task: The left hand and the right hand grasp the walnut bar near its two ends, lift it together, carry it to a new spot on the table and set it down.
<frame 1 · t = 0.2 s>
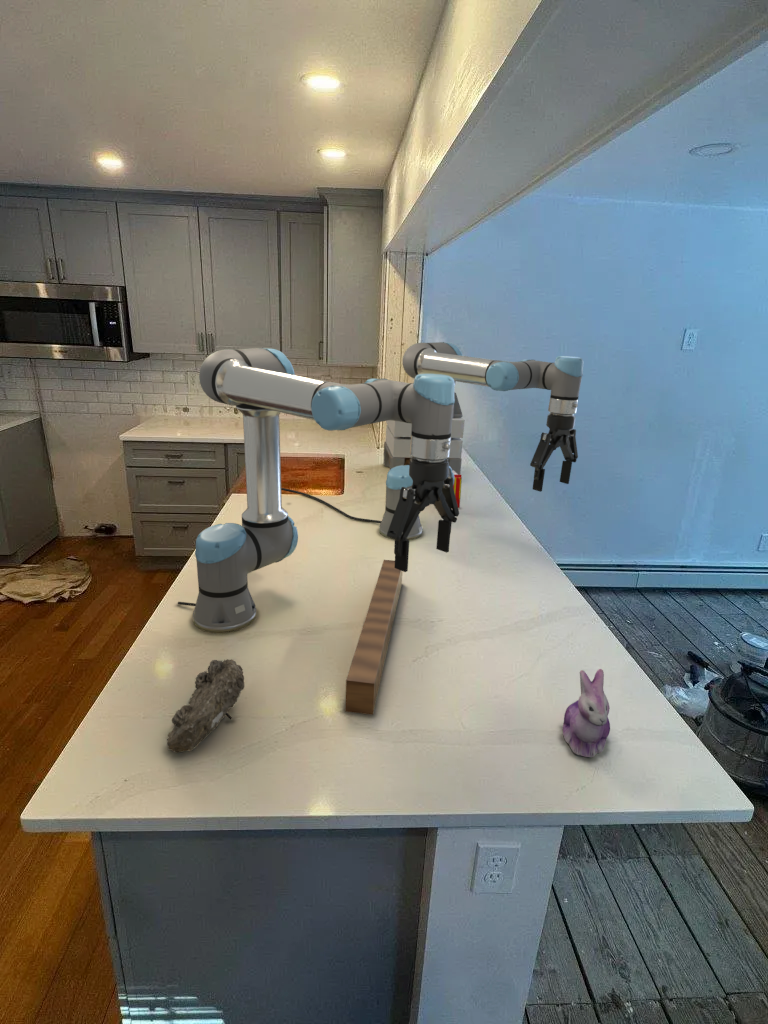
left hand: (422, 559, 115), 27 cm above the counter, tool pointing down, fingers open, 13 cm apart
right hand: (550, 486, 165), 28 cm above the counter, tool pointing down, fingers open, 13 cm apart
bar: (378, 636, 137), on the counter
fossil: (212, 717, 108), on the counter
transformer: (419, 473, 275), on the counter
figurine: (585, 741, 106), on the counter
toy: (443, 497, 241), on the counter
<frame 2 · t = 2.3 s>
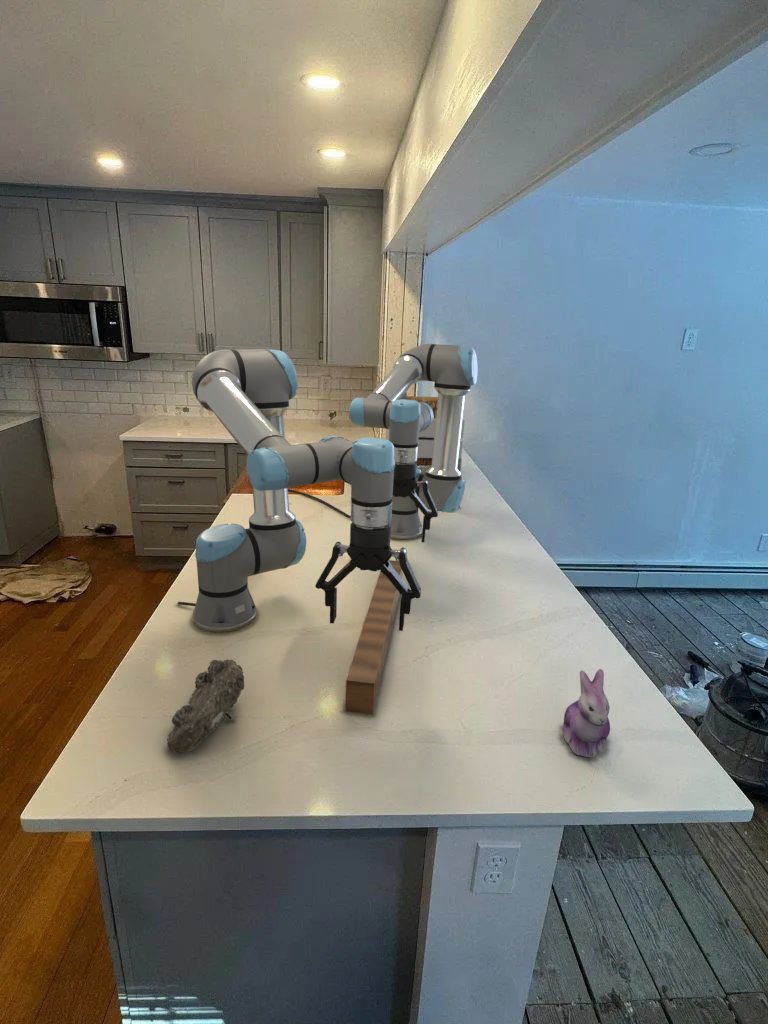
left hand: (367, 623, 112), 16 cm above the counter, tool pointing down, fingers open, 13 cm apart
right hand: (397, 538, 152), 17 cm above the counter, tool pointing down, fingers open, 13 cm apart
nothing on the counter moved.
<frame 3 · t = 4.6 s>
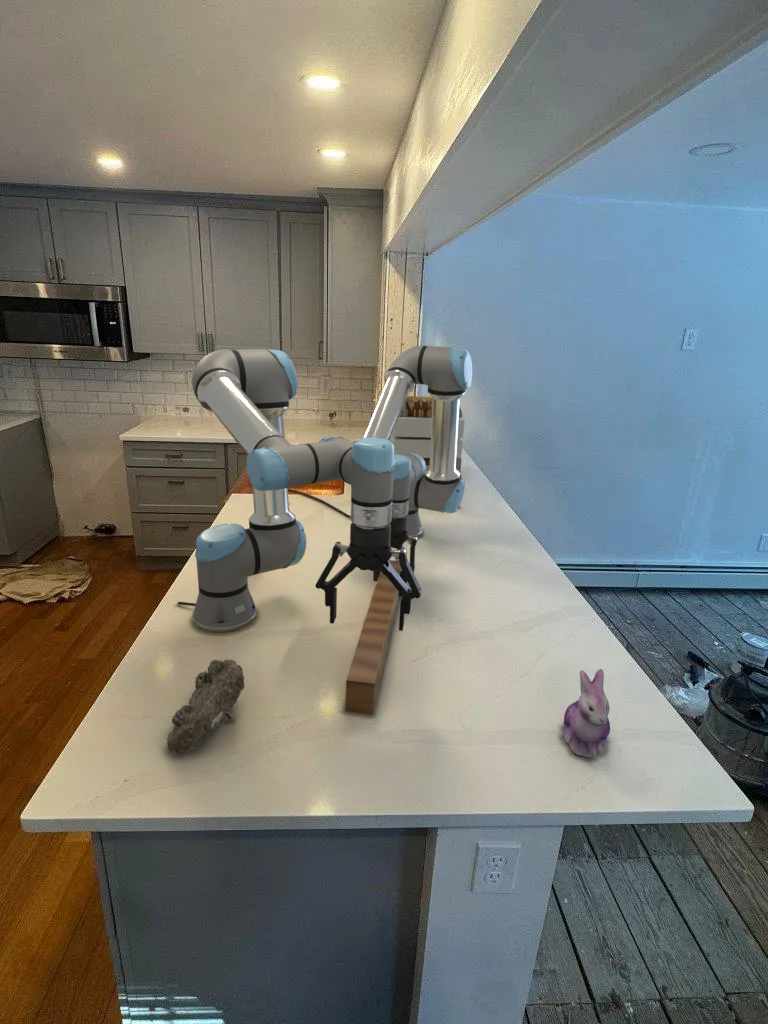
left hand: (367, 623, 112), 16 cm above the counter, tool pointing down, fingers open, 13 cm apart
right hand: (389, 592, 157), 1 cm above the counter, tool pointing down, fingers closed on bar, 5 cm apart
bar: (378, 636, 137), on the counter, touching right hand
everything else where it was.
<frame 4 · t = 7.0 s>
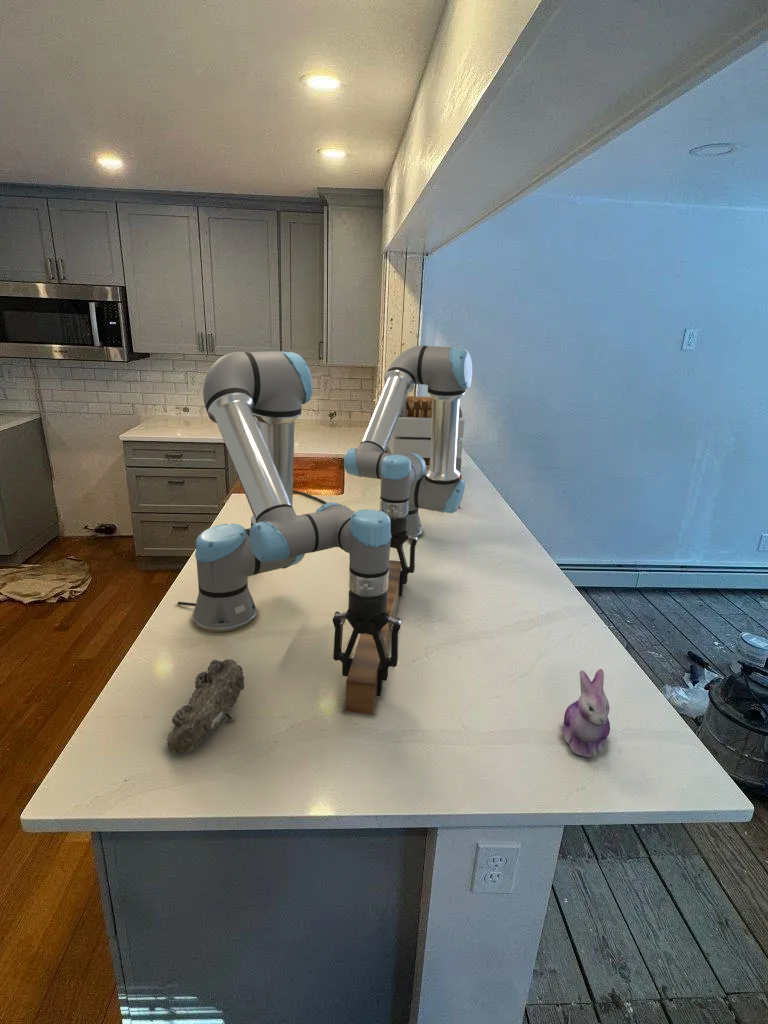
left hand: (364, 690, 117), 1 cm above the counter, tool pointing down, fingers closed on bar, 5 cm apart
right hand: (389, 592, 157), 1 cm above the counter, tool pointing down, fingers closed on bar, 5 cm apart
bar: (378, 636, 137), on the counter, touching right hand, left hand
everything else where it was.
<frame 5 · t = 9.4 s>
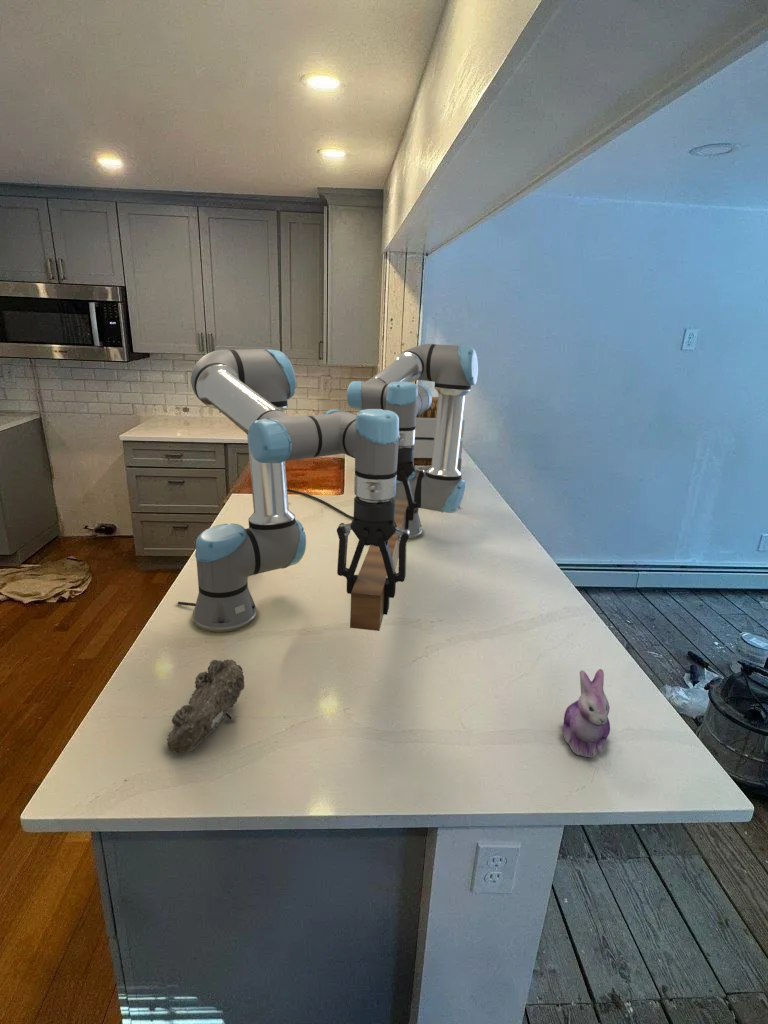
left hand: (370, 609, 110), 19 cm above the counter, tool pointing down, fingers closed on bar, 5 cm apart
right hand: (395, 529, 151), 19 cm above the counter, tool pointing down, fingers closed on bar, 5 cm apart
bar: (384, 565, 131), point 19 cm above the counter, touching right hand, left hand
everything else where it was.
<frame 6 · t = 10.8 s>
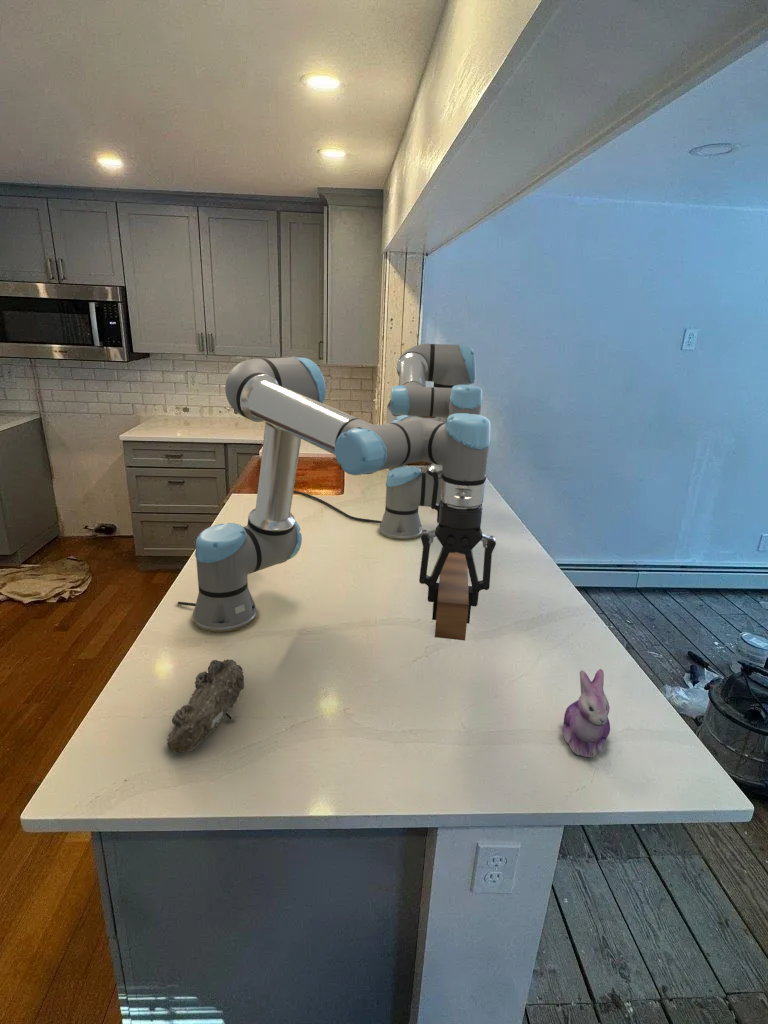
left hand: (450, 617, 108), 20 cm above the counter, tool pointing down, fingers closed on bar, 5 cm apart
right hand: (453, 535, 149), 20 cm above the counter, tool pointing down, fingers closed on bar, 6 cm apart
bar: (452, 572, 128), point 19 cm above the counter, touching right hand, left hand
everything else where it was.
when the left hand's fingers open (1 cm above the counter, at t = 14.5 s): bar stays where it is, on the counter.
when the right hand's fingers open (2 cm above the counter, at t = 14.5 s): bar stays where it is, on the counter.
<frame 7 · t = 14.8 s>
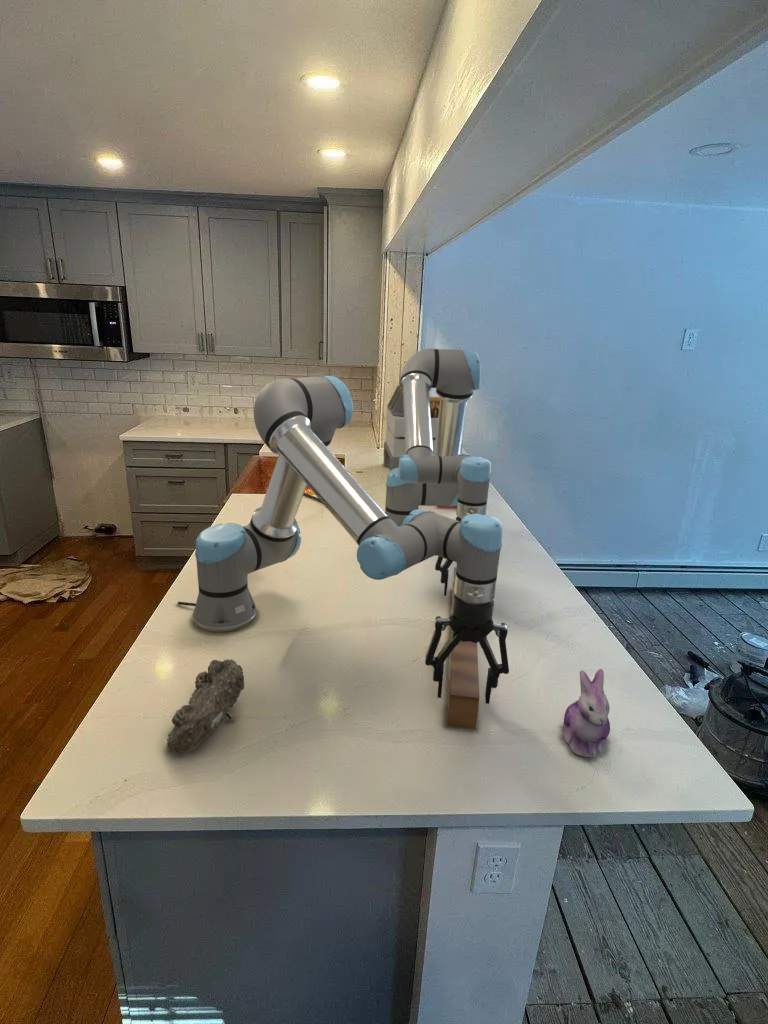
left hand: (463, 696, 113), 2 cm above the counter, tool pointing down, fingers open, 9 cm apart
right hand: (462, 595, 154), 2 cm above the counter, tool pointing down, fingers open, 9 cm apart
bar: (461, 646, 135), on the counter
everything else where it was.
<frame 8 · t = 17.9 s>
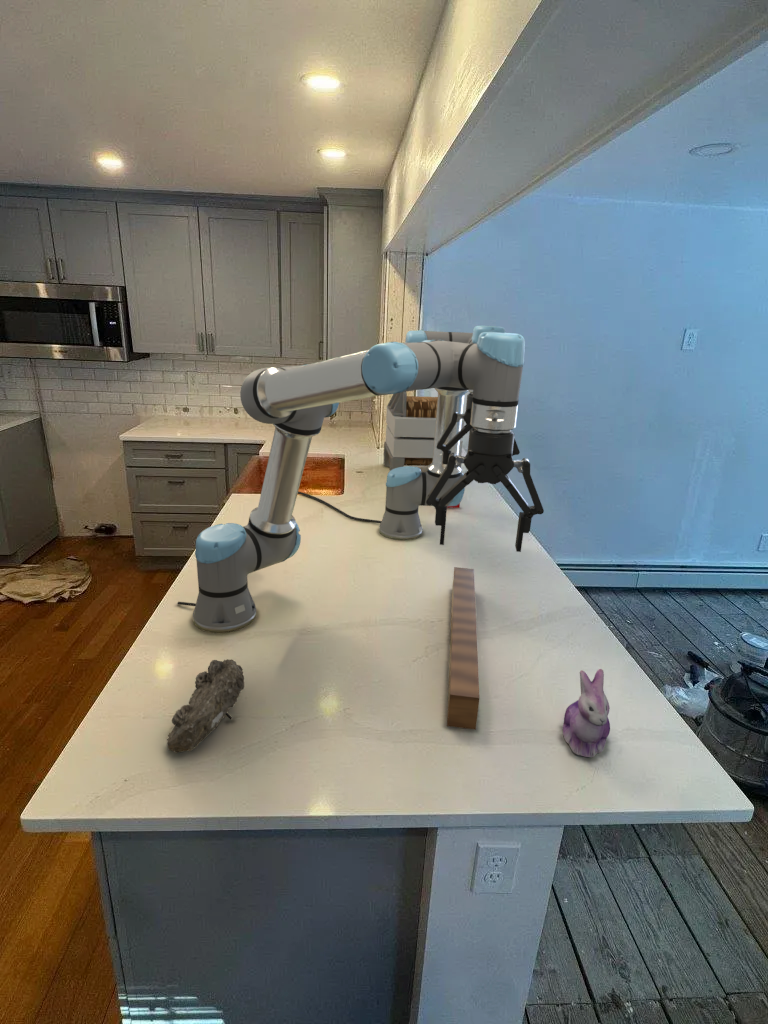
left hand: (479, 545, 102), 35 cm above the counter, tool pointing down, fingers open, 13 cm apart
right hand: (474, 479, 143), 35 cm above the counter, tool pointing down, fingers open, 13 cm apart
nothing on the counter moved.
at the end: bar inside the target area (0.2 cm from its centre), on the counter; bar tilted 0°; bar never tilted more than 1° during the clip; both hands held the bar at the same time; the left hand is holding nothing; the right hand is holding nothing; bar at rest at the end (0.0 cm/s) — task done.
